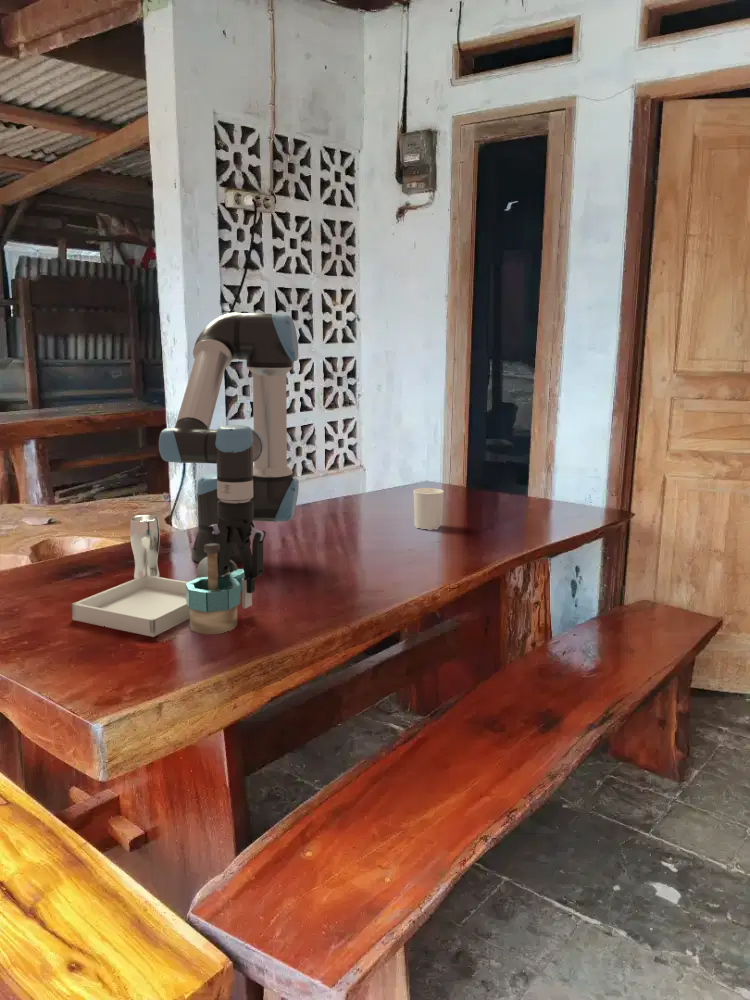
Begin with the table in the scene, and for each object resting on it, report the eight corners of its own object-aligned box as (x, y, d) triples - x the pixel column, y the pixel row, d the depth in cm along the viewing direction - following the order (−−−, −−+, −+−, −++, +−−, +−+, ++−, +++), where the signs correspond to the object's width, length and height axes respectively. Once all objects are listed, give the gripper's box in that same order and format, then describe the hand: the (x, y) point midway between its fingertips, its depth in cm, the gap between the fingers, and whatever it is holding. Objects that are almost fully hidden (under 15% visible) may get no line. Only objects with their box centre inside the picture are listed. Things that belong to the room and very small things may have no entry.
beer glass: (167, 575, 192) (165, 517, 189) (146, 582, 186) (143, 522, 183) (147, 571, 195) (145, 513, 192) (125, 578, 189) (123, 518, 186)
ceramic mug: (221, 579, 190) (220, 549, 188) (239, 588, 184) (238, 557, 182) (182, 589, 183) (181, 558, 181) (200, 597, 177) (198, 565, 175)
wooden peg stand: (208, 614, 166) (206, 537, 162) (246, 621, 162) (245, 542, 158) (180, 629, 157) (177, 548, 154) (219, 637, 153) (218, 554, 150)
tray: (145, 588, 182) (145, 574, 181) (220, 602, 173) (220, 587, 173) (72, 619, 161) (71, 603, 160) (153, 636, 153) (152, 620, 152)
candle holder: (441, 531, 243) (442, 494, 240) (410, 529, 244) (411, 492, 242) (443, 524, 252) (445, 488, 250) (413, 522, 254) (415, 487, 251)
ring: (219, 614, 152) (219, 595, 151) (176, 606, 156) (176, 587, 155) (264, 590, 167) (264, 572, 166) (224, 583, 171) (224, 566, 170)
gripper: (190, 498, 162) (193, 603, 167) (261, 507, 155) (262, 616, 160) (211, 492, 169) (213, 593, 174) (280, 500, 162) (280, 605, 167)
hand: (236, 604), depth 167 cm, fingers open, 4 cm apart
